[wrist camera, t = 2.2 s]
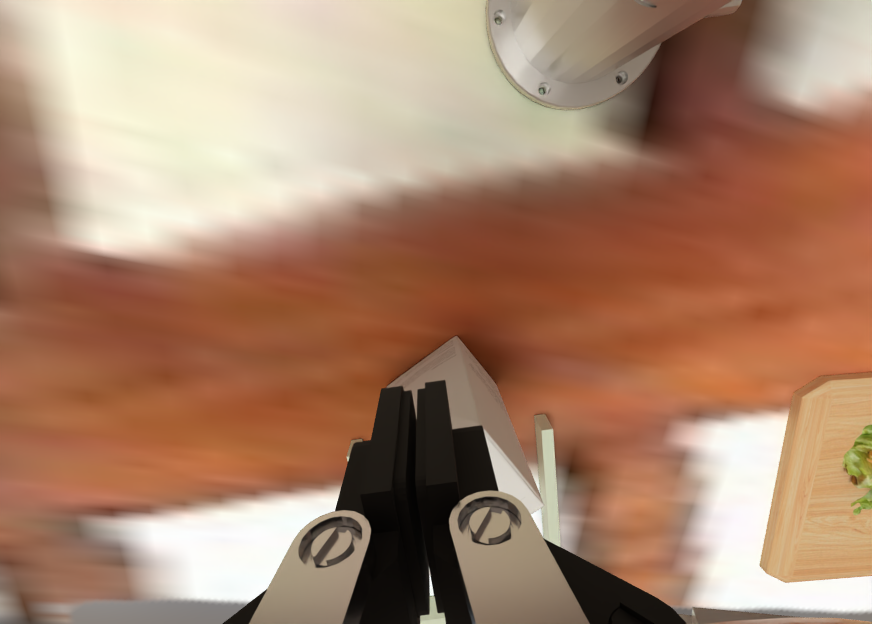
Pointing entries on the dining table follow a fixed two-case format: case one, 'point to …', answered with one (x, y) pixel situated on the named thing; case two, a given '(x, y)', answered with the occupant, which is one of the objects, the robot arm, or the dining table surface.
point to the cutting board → (824, 484)
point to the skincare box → (477, 414)
